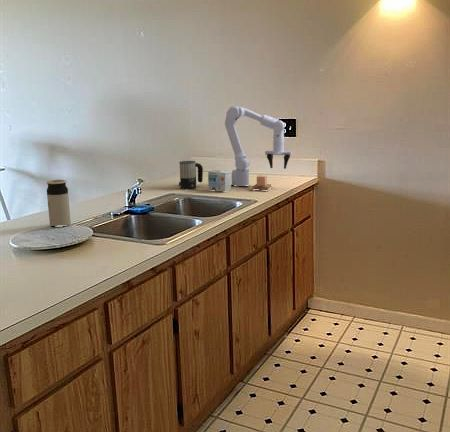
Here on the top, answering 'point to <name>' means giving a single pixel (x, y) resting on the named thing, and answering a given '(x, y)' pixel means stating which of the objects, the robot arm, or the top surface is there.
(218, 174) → the light bulb box
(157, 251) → the top surface
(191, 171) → the milk frother
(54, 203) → the travel mug
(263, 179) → the block
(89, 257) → the top surface
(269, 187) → the plinth
